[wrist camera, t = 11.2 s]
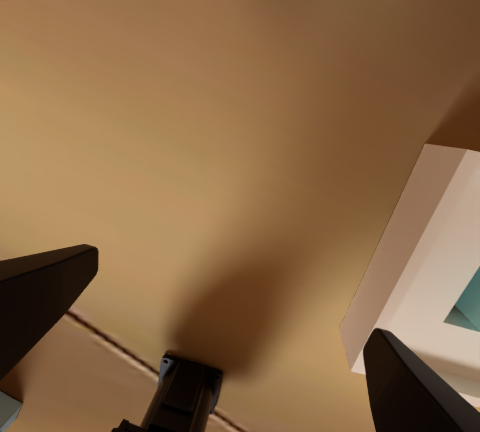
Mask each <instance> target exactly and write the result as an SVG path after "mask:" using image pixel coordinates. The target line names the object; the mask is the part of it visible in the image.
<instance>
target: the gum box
mask: <svg viewBox="0 0 480 432" xmlns="http://www.w3.org/2000/svg"><path fill="white" fill-rule="evenodd" d="M22 405H23V403H21V402H19V401H17V400H16V399H14V398H12V397H10V396H8V395H7V394H5V393H3V392H1V391H0V432H5V431H6V430H7V428H8V427H9V426H10V425H11V424H12V423H13V422H14V421H15V419H16V417H17V415H18V413H19V411H20V409H21V407H22Z"/></svg>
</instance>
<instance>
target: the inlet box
mask: <svg viewBox="0 0 480 432" xmlns="http://www.w3.org/2000/svg"><path fill="white" fill-rule="evenodd" d="M479 266H480V152H477V151H472V150H468V149H461V148H454V147H447V146H439V145H432V144H424V146H423V149H422V151H421V153H420V155H419V157H418V159H417V162H416V164H415V166H414V168H413V170H412V172H411V175H410V177H409V179H408V181H407V183H406V185H405V188H404V190H403V192H402V194H401V196H400V198H399V201H398V203H397V205H396V207H395V209H394V211H393V214H392V216H391V218H390V220H389V222H388V224H387V226H386V229H385V231H384V233H383V235H382V237H381V239H380V242H379V244H378V246H377V248H376V250H375V252H374V255H373V257H372V259H371V261H370V263H369V265H368V268H367V270H366V272H365V274H364V276H363V278H362V281H361V283H360V285H359V287H358V289H357V291H356V294H355V296H354V298H353V300H352V302H351V304H350V307H349V309H348V311H347V313H346V315H345V317H344V320H343V322H342V324H341V326H340V328H339V331H340V335H341V338H342V342H343V345H344V349H345V352H346V356H347V360H348V363H349V367H350V370H351V371H353V372H357V373H360V374H364V375H366V373H365V366H364V359H363V348H364V345H365V343H366V342H367V340H368V338H369V336H370V334H371V333H372V331H373V330H374V329H375V328H381V329H384V330H388V331H390V332H392V333H393V334H394V335H395V336H396V337H397V338H398V339H399V340H401V341H402V342H403V343H404V344H405V345H406V346H407V347H408V348H409V349H410V350H412V351H413V352H414V353H415V354H416V355H417V356H418V357H419V358H420V359H421V360H422V361H424V362H425V363H426V364H427V365H428V366H429V367H430V368H431V369H432V370H433V371H435V372H436V373H437V374H438V375H439V376H440V377H441V378H442V379H443V380H444V381H446V382H447V383H448V384H449V385H450V386H451V387H452V388H453V389H454V390H455V391H456V392H458V393H459V394H460V395H461V396H462V397H463V398H464V399H465V400H466V401H467V402H469V403H470V404H471V405H472V406H476V407H479V408H480V331H479V330H478V329H477V328H476V327H475V326H474V325H473V324H472V323H471V322H470V321H469V319H468V318H467V317H466V316H465V315H464V314H463V313H462V312H461V311H460V310H459V309H458V308H456V307H453V306H454V305H455V303H456V302H457V300H458V299H459V297H460V295H461V294H462V292H463V291H464V289H465V288H466V286H467V285H468V283H469V282H470V280H471V279H472V277H473V276H474V274H475V273H476V271H477V269H478V268H479Z"/></svg>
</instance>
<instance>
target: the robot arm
mask: <svg viewBox="0 0 480 432" xmlns="http://www.w3.org/2000/svg"><path fill="white" fill-rule="evenodd" d="M98 253H99V252H98V249H97V248H96V247H94V246H91V245H87V244H82V245H77V246H72V247H67V248H62V249H57V250H52V251H47V252H43V253H38V254H33V255H28V256H23V257H18V258H13V259H8V260H3V261H0V381H1V380H2V379H3V378H4V377H5V376H6V374H7V373H8V372H9V371H10V370H11V369H12V368H13V367H14V366H15V365H16V364H17V363H18V362H19V361H20V360H21V359H22V358H23V357H24V356H25V355H26V354H27V353H28V352H29V351H30V350H31V349H32V348H33V347H34V346H35V344H36V343H37V342H38V341H39V340H40V339H41V338H42V337H43V336H44V335H45V334H46V333H47V332H48V331H49V330H50V329H51V328H52V327H53V326H54V325H55V324H56V323H57V322H58V321H59V320H60V318H61V317H62V316H63V315H64V314H65V313H66V312H67V311H68V309H69V308H70V307H71V306H72V304H73V303H74V302H75V301H76V299H77V298H78V297H79V296H80V294H81V293H82V292H83V291H84V289H85V288H86V287H87V286H88V284H89V283H90V282H91V281H92V279H93V278H94V277H95V276H96V274H97V271H98ZM363 359H364V366H365V373H366V380H367V388H368V395H369V401H370V407H371V412H372V417H373V421H374V425H375V429H376V432H480V412H478V411H477V410H476V409H475V408H474V407H473V406H472V405H471V404H470V403H469V402H467V401H466V400H465V399H464V398H463V397H462V396H461V395H460V394H459V393H458V392H456V391H455V390H454V389H453V388H452V387H451V386H450V385H449V384H448V383H447V382H446V381H444V380H443V379H442V378H441V377H440V376H439V375H438V374H437V373H436V372H435V371H433V370H432V369H431V368H430V367H429V366H428V365H427V364H426V363H425V362H424V361H422V360H421V359H420V358H419V357H418V356H417V355H416V354H415V353H414V352H413V351H412V350H410V349H409V348H408V347H407V346H406V345H405V344H404V343H403V342H402V341H401V340H399V339H398V338H397V337H396V336H395V335H394V334H393V333H392V332H390V331H388V330H384V329H381V328H375V329H374V330H373V331H372V333H371V334H370V336H369V338H368V340H367V342H366V343H365V345H364V348H363ZM222 377H223V372H222V371H220V370H217V369H214V368H210V367H207V366H204V365H200V364H197V363H194V362H190V361H187V360H183V359H180V358H177V357H173V356H170V355H164V356H163V357H162V359H161V365H160V373H159V381H158V389H157V391H156V393H155V395H154V397H153V399H152V402H151V404H150V406H149V408H148V410H147V412H146V414H145V417H144V419H143V421H142V423H141V425H140V427H139V426H137V425H134V424H132V423H129V421H128V420H125V419H123V421H122V422H121V424H120V425H119V427H118V428H113V430H112V431H111V432H205V429H206V425H207V421H208V417H209V414H213V412H214V408H215V404H216V400H217V396H218V393H219V389H220V385H221V381H222Z"/></svg>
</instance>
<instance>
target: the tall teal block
mask: <svg viewBox="0 0 480 432" xmlns="http://www.w3.org/2000/svg"><path fill="white" fill-rule="evenodd" d="M455 306H456V307H457V308H458V309H459V310H460V311H461V312H462V313H463V314H464V315H465V316H466V317H467V318H468V319H469V321H470V322H471V323H472V324H473V325H474V326H475V327H476V328H477V329H478V330H479V331H480V266H479V268H478V269H477V271H476V273H475V274H474V276H473V277H472V279H471V280H470V282H469V283H468V285H467V286H466V288H465V289H464V291H463V292H462V294H461V295H460V297H459V299H458V300H457V302H456V303H455Z"/></svg>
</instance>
